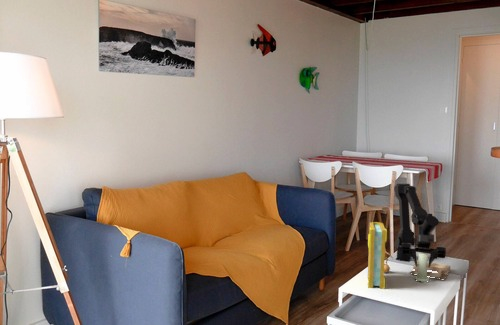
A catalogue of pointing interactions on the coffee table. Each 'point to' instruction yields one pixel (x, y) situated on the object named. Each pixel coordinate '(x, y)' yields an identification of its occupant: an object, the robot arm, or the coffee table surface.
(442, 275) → the keyhole board
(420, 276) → the sage peg
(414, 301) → the coffee table surface
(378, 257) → the book
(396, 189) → the robot arm
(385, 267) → the figurine
